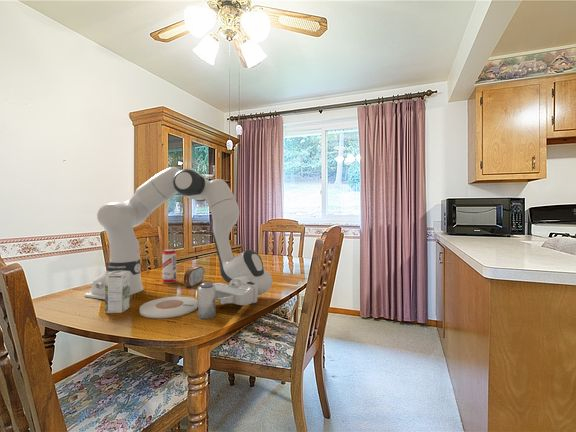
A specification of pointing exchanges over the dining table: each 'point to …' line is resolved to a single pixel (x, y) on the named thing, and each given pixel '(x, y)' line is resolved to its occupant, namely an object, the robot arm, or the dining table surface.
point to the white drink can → (206, 300)
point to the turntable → (168, 307)
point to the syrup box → (117, 291)
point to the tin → (193, 276)
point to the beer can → (169, 266)
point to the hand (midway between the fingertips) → (210, 298)
